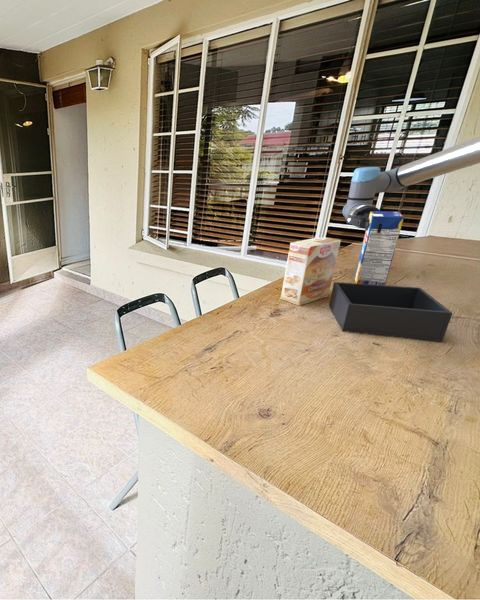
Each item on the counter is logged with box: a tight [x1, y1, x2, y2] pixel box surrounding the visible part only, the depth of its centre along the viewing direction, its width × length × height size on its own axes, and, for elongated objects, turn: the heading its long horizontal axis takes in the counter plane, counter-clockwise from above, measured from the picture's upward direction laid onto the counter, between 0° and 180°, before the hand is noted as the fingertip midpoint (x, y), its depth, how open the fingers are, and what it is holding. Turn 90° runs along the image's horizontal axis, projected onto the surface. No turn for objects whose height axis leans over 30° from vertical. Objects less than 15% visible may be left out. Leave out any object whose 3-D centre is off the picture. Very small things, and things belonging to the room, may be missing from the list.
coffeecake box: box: [280, 236, 342, 306], centre depth 114 cm, size 15×7×20 cm, turn 114°
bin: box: [328, 281, 453, 343], centre depth 97 cm, size 21×19×8 cm
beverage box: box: [354, 210, 405, 285], centre depth 109 cm, size 7×11×22 cm, turn 146°
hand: (387, 228), depth 102 cm, fingers closed on beverage box, 3 cm apart
